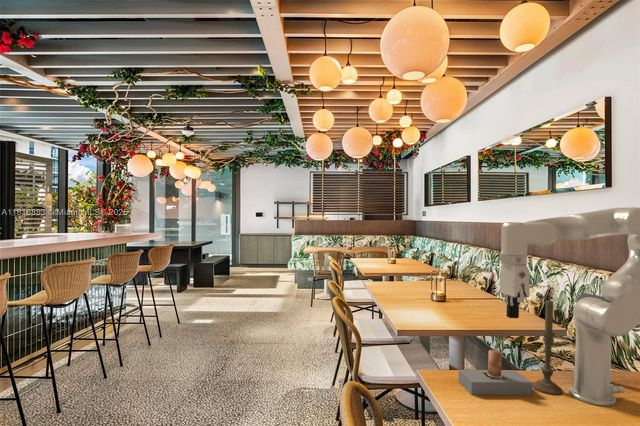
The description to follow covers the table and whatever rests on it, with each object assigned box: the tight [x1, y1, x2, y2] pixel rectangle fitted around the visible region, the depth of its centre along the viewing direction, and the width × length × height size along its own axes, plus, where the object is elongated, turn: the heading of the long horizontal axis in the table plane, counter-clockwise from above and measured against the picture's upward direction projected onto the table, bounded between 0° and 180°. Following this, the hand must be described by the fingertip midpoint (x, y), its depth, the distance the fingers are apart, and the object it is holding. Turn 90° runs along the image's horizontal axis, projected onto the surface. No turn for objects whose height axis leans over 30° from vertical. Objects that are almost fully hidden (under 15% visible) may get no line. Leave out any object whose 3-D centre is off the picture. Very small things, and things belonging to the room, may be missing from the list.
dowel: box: [487, 349, 503, 379], centre depth 133 cm, size 4×4×12 cm
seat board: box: [457, 369, 533, 396], centre depth 133 cm, size 20×10×4 cm, turn 94°
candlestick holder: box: [532, 299, 563, 396], centre depth 134 cm, size 9×9×30 cm
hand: (512, 317), depth 129 cm, fingers closed
